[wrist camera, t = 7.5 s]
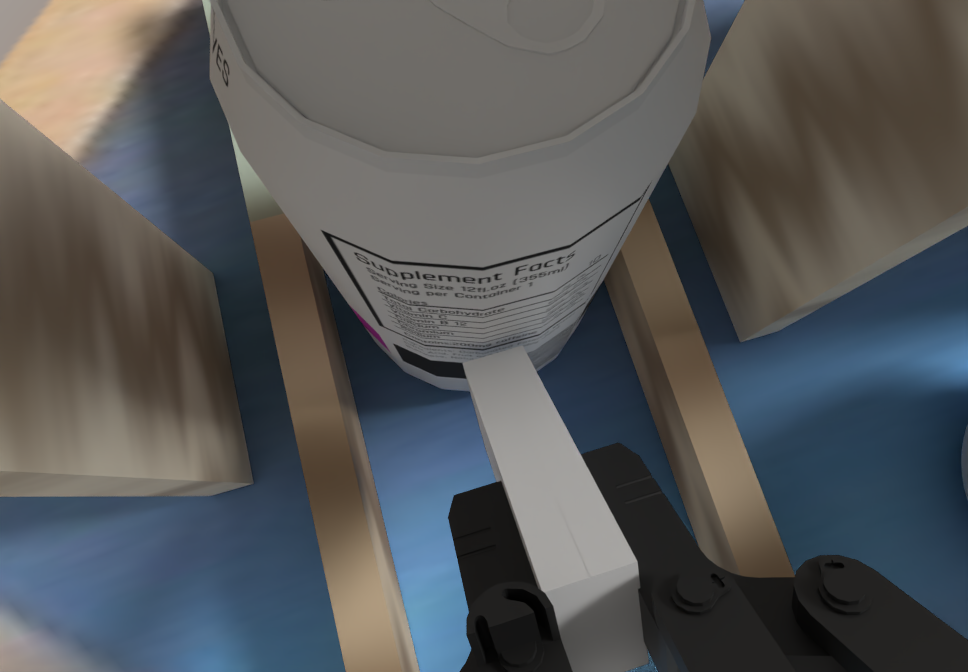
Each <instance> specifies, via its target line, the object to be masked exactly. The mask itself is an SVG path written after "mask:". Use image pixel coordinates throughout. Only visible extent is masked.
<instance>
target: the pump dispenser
mask: <svg viewBox="0 0 968 672" xmlns="http://www.w3.org/2000/svg"><path fill="white" fill-rule="evenodd" d="M961 467H962V478H963V484H964V490H965V493H966V497H967V501H968V424H967V427H966V431H965V435H964V439H963V445H962V455H961Z"/></svg>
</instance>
